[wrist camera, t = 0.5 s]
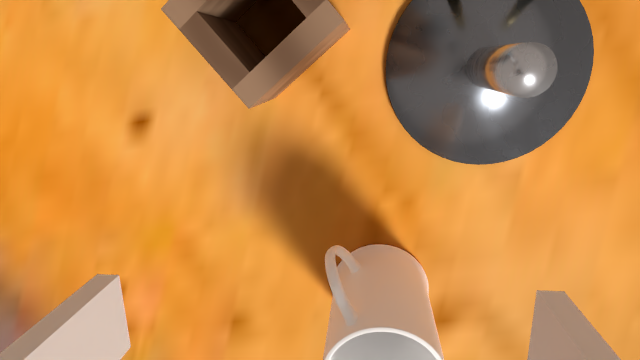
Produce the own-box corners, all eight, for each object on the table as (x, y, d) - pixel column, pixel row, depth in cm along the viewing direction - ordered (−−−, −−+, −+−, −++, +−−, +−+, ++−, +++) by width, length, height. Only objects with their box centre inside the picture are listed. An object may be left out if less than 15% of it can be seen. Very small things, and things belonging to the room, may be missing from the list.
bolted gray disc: (575, 163, 34) (650, 201, 25) (383, 162, 36) (388, 197, 27) (605, -47, 30) (706, -92, 21) (387, -37, 32) (394, -75, 23)
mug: (300, 233, 38) (269, 308, 27) (388, 195, 36) (397, 258, 25) (356, 340, 41) (351, 451, 29) (443, 310, 39) (473, 415, 27)
